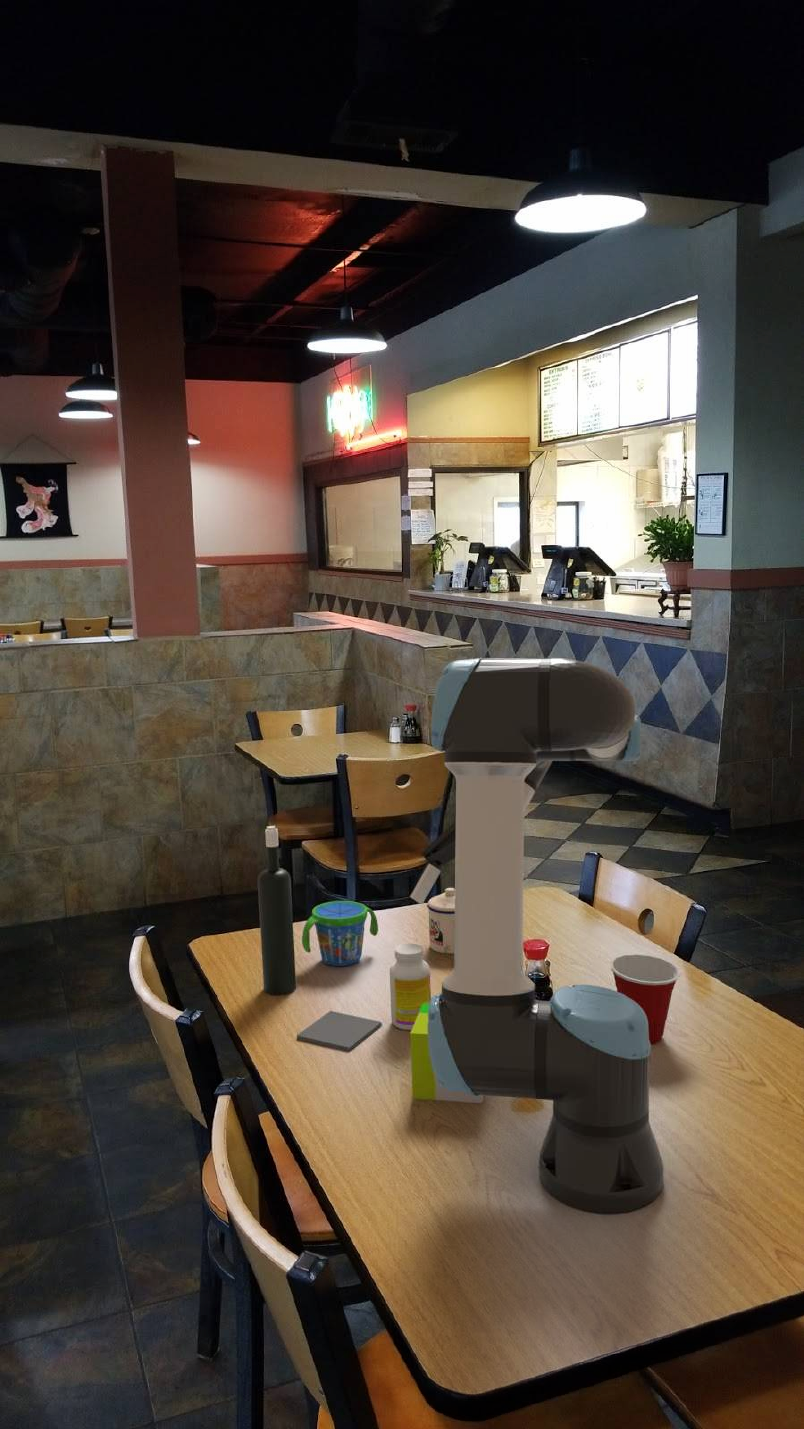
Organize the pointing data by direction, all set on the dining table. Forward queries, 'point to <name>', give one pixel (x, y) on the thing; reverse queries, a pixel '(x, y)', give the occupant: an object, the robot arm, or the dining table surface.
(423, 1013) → the puzzle toy
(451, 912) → the teacup with lid
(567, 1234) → the dining table surface
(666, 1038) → the dining table surface
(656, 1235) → the dining table surface
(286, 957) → the wine bottle
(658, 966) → the plastic cup
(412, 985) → the supplement bottle
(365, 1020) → the coaster
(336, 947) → the snack cup
